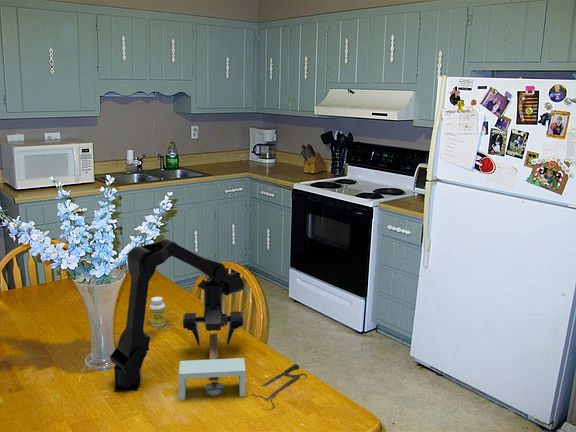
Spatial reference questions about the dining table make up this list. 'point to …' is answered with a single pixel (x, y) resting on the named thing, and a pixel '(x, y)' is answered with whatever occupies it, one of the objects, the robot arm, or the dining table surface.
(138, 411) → the dining table surface
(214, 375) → the plinth bridge
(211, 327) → the robot arm
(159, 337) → the dining table surface
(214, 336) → the walnut batten
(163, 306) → the supplement bottle
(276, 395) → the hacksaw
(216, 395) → the steel puck
